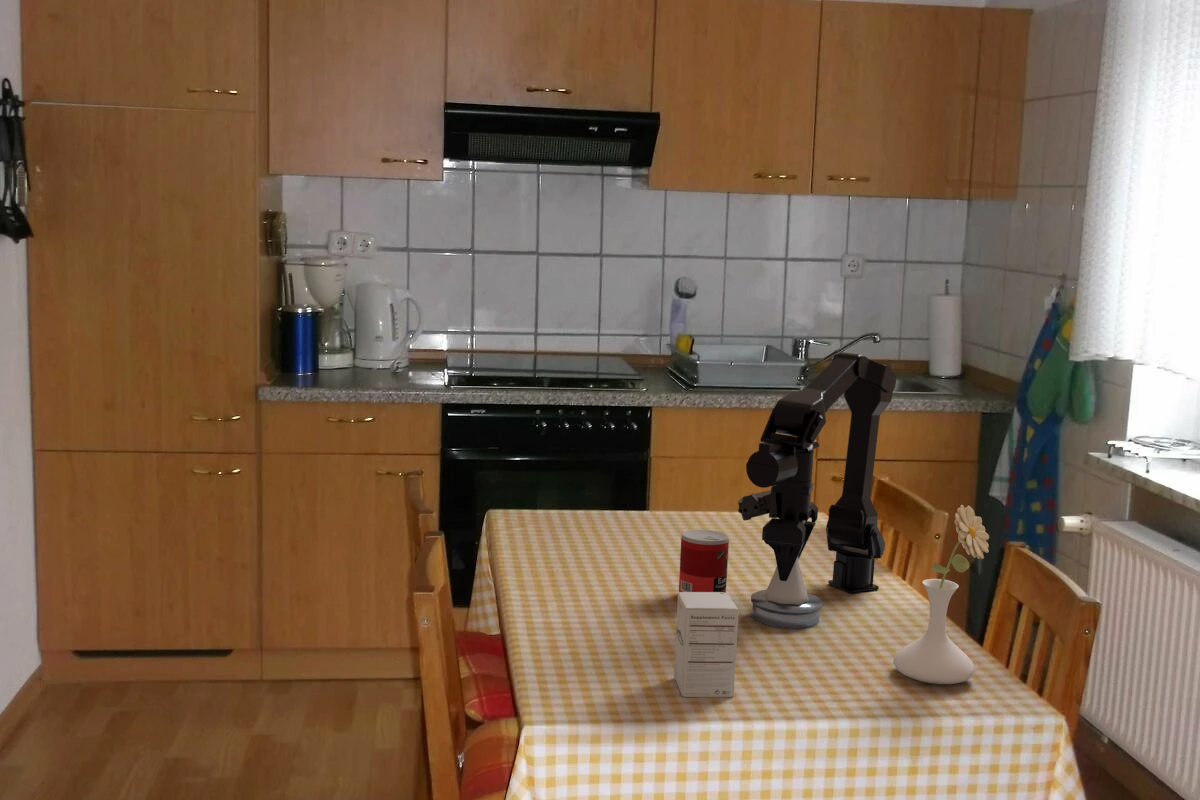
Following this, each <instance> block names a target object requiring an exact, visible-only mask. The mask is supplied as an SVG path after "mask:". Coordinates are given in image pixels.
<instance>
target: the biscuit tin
mask: <svg viewBox="0 0 1200 800" xmlns="http://www.w3.org/2000/svg"><path fill="white" fill-rule="evenodd" d="M766 590H767V589H762V590H758V591H755V592H753V593H752V594H751V596H750V602H751V618H752V620H754V621H755V622H756V623H758V624H760V625H762V626H766V627H770V628H774V629H775V628H776V629H781V630H806V629H810V628H814V627H815V626H818V625H819V623H820V615H821V614H820V611H821V608H822V607H823V602H822V601H823V600H822V599H820V597H818V596H816V595H814V594H812V593H808V592H807V595H808V599H809V601H807V602H805V603H803V604H801V605H796V604H780V603H777V602H773V601H769V600H766V597H765V593H766Z"/></svg>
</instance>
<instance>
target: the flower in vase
mask: <svg viewBox="0 0 1200 800" xmlns="http://www.w3.org/2000/svg"><path fill="white" fill-rule="evenodd" d="M959 506H960V507H958V508H957V512H955V514H954V516H955V519H954V525H955V530H956V533H957V534H958V536H957V539H958V540H957V542H956V544H955V545H954V547H953V549H952V552H951V554H950V557H949V560H948V563H947V565H946V567H944V566H942V565H940V564H939V563H937V562H936V561H935V562H934V563H933V565H932V566H931V568H930V571H933V572H935V573H939V574H943V575H942V578H928V579H924V580H922V581H921V582H922V585H923V587H924V588H925V590H926V593H927V596H928V601H929V602H928V603H929V622H928V627H927V630H926V632H925V633H924V634H923V635H922V636H920V637H919V638H918V639H915V640H914V641H912V642H911V643H909V644H907V645H905V646H904V647H902V648H901V649H900V650H899V651H898V652H897V653H896V654H895V655H894V658H893V660H892V663H893V665H894V667H895V669H896V670H897V671H898V672H899V673H901V674H902V675H904V676H906V677H908V678H909V679H912V680H916V681H919V682H922V683H928V684H934V685H935V684H936V685H937V684H938V685H952V684H953V685H954V684H958V683H964V682H966V681H969V680H970V679H971V678H972V677H973V676H974V675H975V673H976V668H975V665H974V663H973V662H972V660H971V659H970V658H969V657H968V655H967V654H966V653H965V652H964V651H963V650H962V649H960V647H958V646H957V645H956V644H955V643H954V642H953V641H952V640H951V639H950V638H949V636H948V634H947V632H946V631H947V630H946V629H947V628H946V619H947V613H948V607H949V604H950V600H951V598H952V596H953V595H954V593H955V592H956V590H957V589H959V584H958V583H957V582H954V581H951V580H949V579H946V577H947V574H948V573H949V572H950V571H951V569H950V566H951V565H952V566H953V568H954V569H955V570H956V571H957V572H958V573H965V572H966V571H967V570H968V569H969V568H970V562H969V561H968V559H967V558H966V557H964V556H963V555H961V554H957V553H956V551H957V549H958V547H959V545H960V544H961V546H962V547H963V549H964V550H965V552H966V553H967V555H969V556H970V555H971V556H972V557H973V558H974V559H976V558H977V560H983V559H985V556H984V553H986V554H988V553H989V543H988V541H987V540H989V539H990V534H988V533H987V532H986V527H985V526H984V525H983V524H982V523H983V520H982V517H981V516H977V515H976V514H975V510H974V508H973V507H971V506H970V505H967V506H966V507H965V505H963V504H961V505H959ZM955 553H956V554H955Z"/></svg>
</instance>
